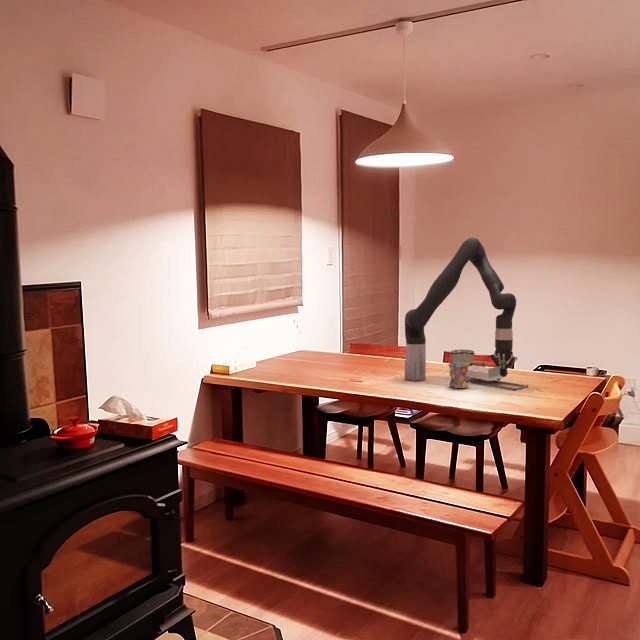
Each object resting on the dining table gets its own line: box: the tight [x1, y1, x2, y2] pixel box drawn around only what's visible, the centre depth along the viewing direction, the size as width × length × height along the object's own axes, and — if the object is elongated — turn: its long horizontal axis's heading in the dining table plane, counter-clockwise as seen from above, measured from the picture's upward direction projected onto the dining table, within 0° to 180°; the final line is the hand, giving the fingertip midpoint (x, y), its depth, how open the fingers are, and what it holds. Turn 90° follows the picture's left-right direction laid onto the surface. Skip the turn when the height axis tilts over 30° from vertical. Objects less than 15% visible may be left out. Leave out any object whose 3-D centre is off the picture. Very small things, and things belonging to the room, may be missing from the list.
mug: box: [447, 361, 470, 389], centre depth 285 cm, size 12×9×11 cm
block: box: [472, 360, 486, 367], centre depth 314 cm, size 4×4×6 cm
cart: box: [467, 366, 505, 384], centre depth 296 cm, size 11×17×7 cm, turn 40°
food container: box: [449, 349, 476, 366], centre depth 328 cm, size 12×6×10 cm, turn 84°
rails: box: [467, 377, 529, 391], centre depth 293 cm, size 10×32×1 cm, turn 40°
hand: (503, 376), depth 287 cm, fingers closed
